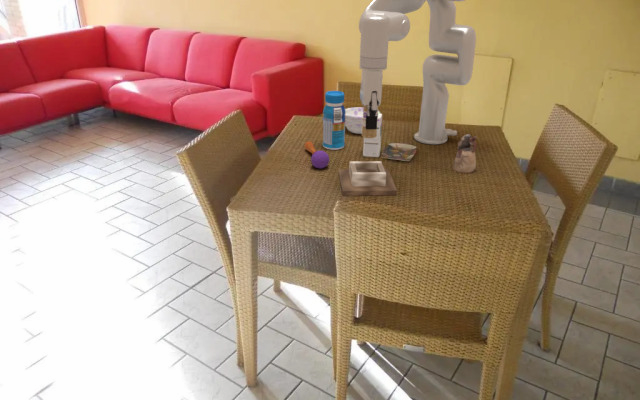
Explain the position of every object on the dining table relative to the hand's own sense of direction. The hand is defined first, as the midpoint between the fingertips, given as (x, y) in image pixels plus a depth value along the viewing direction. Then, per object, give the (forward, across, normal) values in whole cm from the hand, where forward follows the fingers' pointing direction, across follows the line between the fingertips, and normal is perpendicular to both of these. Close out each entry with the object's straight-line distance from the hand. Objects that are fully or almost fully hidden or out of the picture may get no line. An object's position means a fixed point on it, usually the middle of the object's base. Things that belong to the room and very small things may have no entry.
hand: (369, 125), depth 141 cm
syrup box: (+19, -25, +5) cm, 32 cm away
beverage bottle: (+19, -33, -8) cm, 39 cm away
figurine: (+19, -11, +34) cm, 40 cm away
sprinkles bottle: (+4, 0, 0) cm, 4 cm away
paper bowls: (+19, -51, +4) cm, 55 cm away
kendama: (+19, -20, -15) cm, 32 cm away
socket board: (+19, 0, 0) cm, 19 cm away
